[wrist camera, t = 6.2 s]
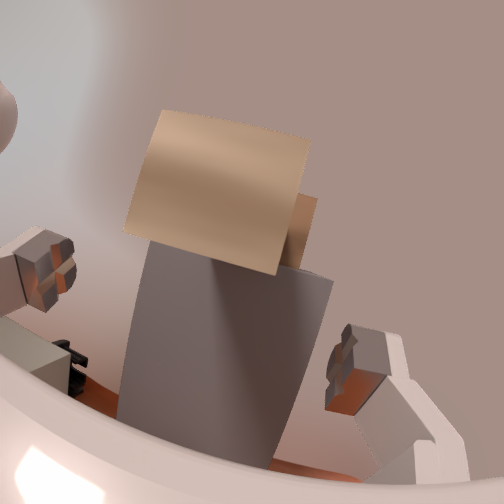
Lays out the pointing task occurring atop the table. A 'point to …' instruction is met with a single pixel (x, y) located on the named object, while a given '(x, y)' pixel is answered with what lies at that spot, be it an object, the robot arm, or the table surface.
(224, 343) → the pedestal
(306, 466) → the table surface
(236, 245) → the mallet
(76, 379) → the end cap
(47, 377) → the stand
